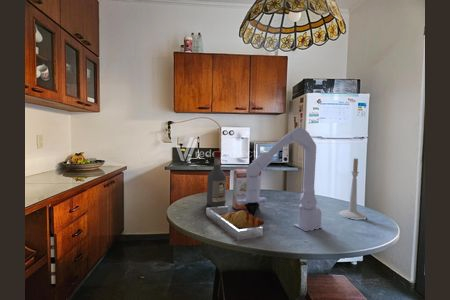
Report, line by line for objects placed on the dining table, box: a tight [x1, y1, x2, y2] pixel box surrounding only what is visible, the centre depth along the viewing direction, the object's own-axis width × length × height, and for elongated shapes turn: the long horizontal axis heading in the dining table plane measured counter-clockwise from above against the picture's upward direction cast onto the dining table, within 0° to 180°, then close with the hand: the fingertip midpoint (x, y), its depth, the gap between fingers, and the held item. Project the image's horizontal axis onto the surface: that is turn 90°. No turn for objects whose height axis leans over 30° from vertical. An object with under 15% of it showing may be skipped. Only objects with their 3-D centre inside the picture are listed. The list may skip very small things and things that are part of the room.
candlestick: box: [338, 158, 367, 218], centre depth 133 cm, size 13×13×30 cm
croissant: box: [219, 209, 265, 229], centre depth 117 cm, size 21×10×8 cm, turn 73°
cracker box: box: [232, 168, 262, 210], centre depth 144 cm, size 14×6×21 cm, turn 105°
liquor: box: [206, 150, 227, 207], centre depth 148 cm, size 9×9×30 cm
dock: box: [205, 205, 264, 241], centre depth 117 cm, size 11×33×4 cm, turn 25°
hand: (251, 218), depth 121 cm, fingers closed
